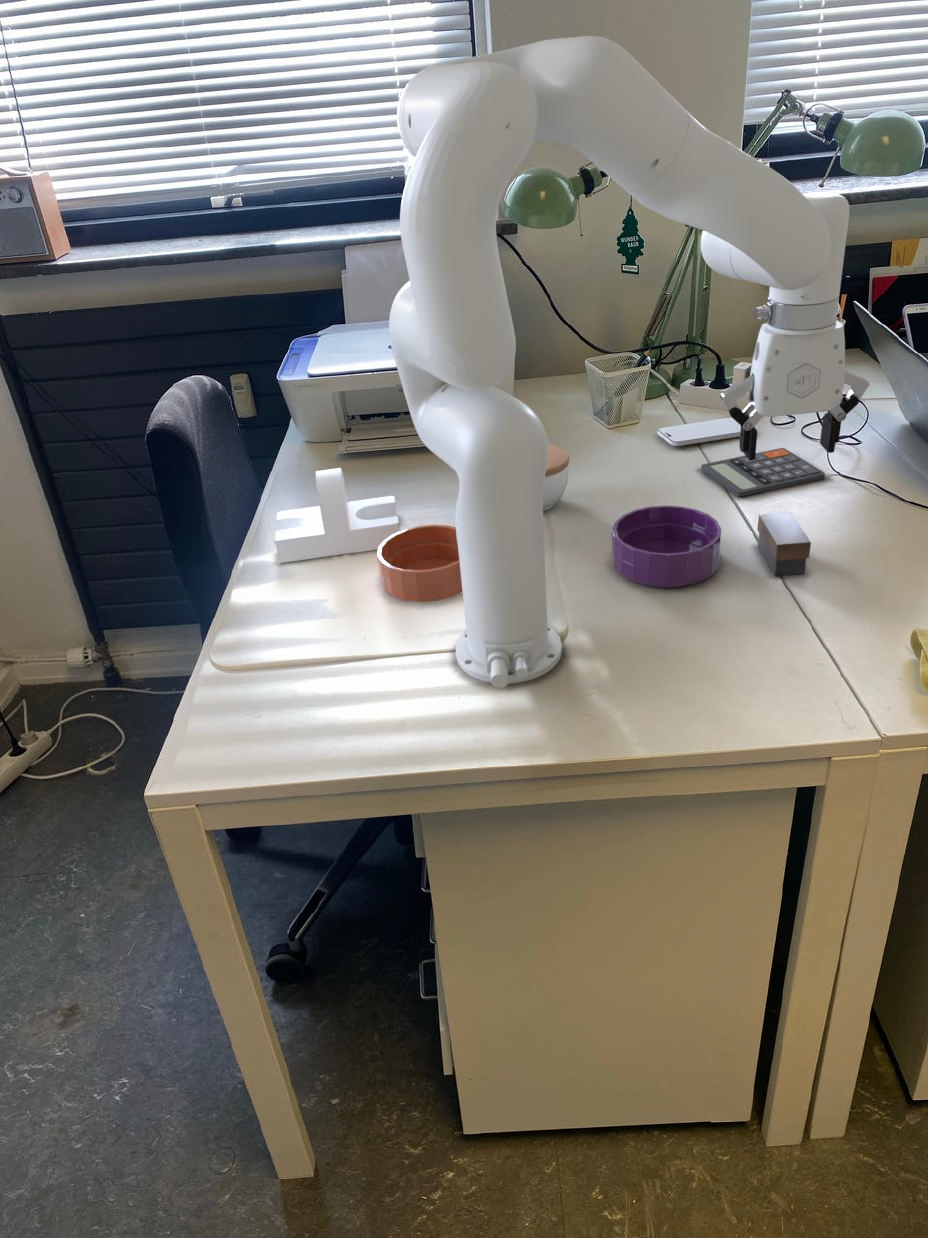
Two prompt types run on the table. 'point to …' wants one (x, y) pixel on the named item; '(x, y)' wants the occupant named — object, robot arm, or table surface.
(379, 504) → the white slotted stand
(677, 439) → the smartphone
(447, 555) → the terracotta bowl
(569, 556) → the table surface
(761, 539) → the scrub brush
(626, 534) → the plum bowl
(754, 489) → the calculator
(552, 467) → the trinket box
